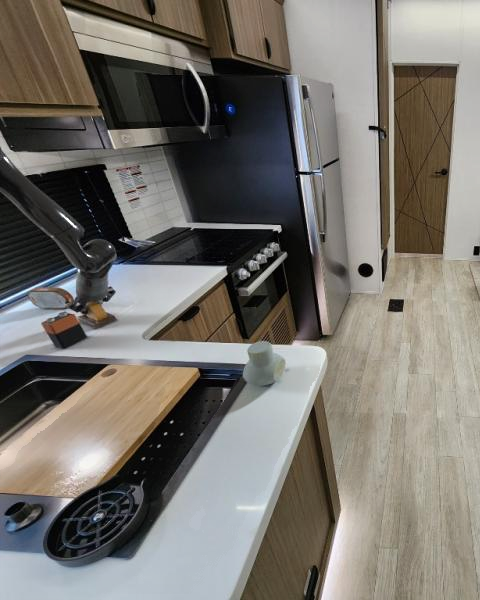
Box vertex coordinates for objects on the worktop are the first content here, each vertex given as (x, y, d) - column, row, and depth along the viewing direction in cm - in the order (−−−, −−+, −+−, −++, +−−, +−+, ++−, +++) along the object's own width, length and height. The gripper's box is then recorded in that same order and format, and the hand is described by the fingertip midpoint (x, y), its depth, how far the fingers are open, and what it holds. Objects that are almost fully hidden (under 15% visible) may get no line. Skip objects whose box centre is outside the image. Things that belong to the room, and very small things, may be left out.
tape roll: (100, 328, 115) (93, 310, 110) (86, 317, 117) (79, 299, 112) (110, 323, 117) (104, 306, 113) (96, 313, 119) (90, 296, 115)
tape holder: (96, 329, 112) (93, 324, 111) (79, 321, 117) (76, 316, 116) (117, 320, 117) (115, 315, 116) (100, 313, 122) (98, 308, 121)
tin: (78, 306, 128) (68, 286, 124) (71, 309, 125) (60, 290, 121) (41, 306, 128) (29, 286, 124) (33, 310, 126) (21, 290, 122)
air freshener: (262, 363, 94) (254, 334, 89) (289, 365, 93) (283, 335, 89) (242, 390, 84) (232, 359, 80) (273, 392, 84) (264, 361, 79)
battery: (88, 337, 108) (73, 311, 103) (64, 349, 102) (47, 322, 97) (79, 335, 109) (64, 309, 104) (54, 347, 103) (38, 320, 98)
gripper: (109, 268, 111) (106, 294, 122) (56, 284, 100) (57, 311, 111) (124, 285, 111) (119, 309, 122) (73, 303, 100) (73, 328, 111)
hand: (90, 310), depth 116 cm, fingers closed on tape roll, 3 cm apart
